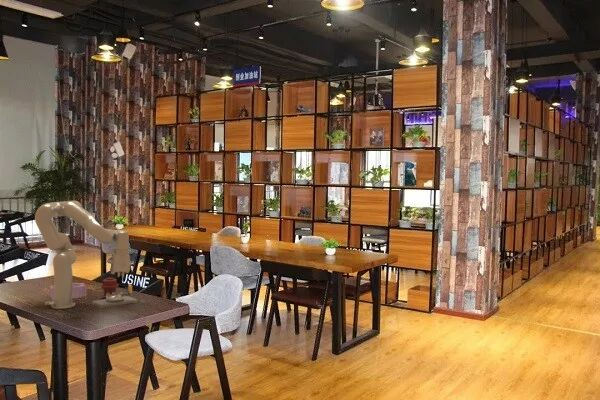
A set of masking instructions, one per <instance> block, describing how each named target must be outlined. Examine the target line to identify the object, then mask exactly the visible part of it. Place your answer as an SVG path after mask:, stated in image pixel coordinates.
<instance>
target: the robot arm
mask: <svg viewBox="0 0 600 400" xmlns="http://www.w3.org/2000/svg"><path fill="white" fill-rule="evenodd" d="M56 217H68V218H69V219H71V220H72V221H74V222H75V223H77V224H78V225H79V226H81V227H82V228H83V229H84V230H85V231H86V232H87V233H88V234H89V235H90V236H91V237H93V238H94V239H95V240H97V241H98V242H99V243H102V244H105V245H107V244H110V243H113V242H114V249H113V250H111V253H113V254H112V256H111V262H110V274H111V275H115V277H116V278H115V279H116V282H117V284H118V285H121V284H123V278H124V277H125V275H126V274H128V273H130V271H131V256H130V253H129V243H130V242H129V241H130V232H129V231H128V230H125V229H124V230H123V229H121V230H120V229H119V230H118V229H111V228H108V229H107V228H104V227H103V226H102V225H100V223H98V222H97V220H96V218H95V216H94V215H93V214H92V213H90V212H89V211H88V210H87V209H85V208H83V205H82V204H81V203H80V202H79V201H77V200H68V201H67V200H66V201H54V202H52V201H51V202H46V203H43V204H42V205H40V206H39V207H38V208H37V210H36V212H35V215H34V220H35V224H36V226H37V228H38V230H39V232H40V234H41V236H42V239H43V241H44V242H45V245H46V247H47V248H48V249H49V250H50V251H51V252H52V251H53V252H54V251H55V252H56V254H55V256H54V257H53V259H52V265H53V266H52V267H53V273H54V274H53V275H54V277H53V279H54V282H53V283H54V284H53V286H54V299H51V300H49V301H45V302H44V305H45V306H47V305H48V306H51V309H55V310H58V309H59V310H63V309H70V308H73V307H76V303H75V302H74V301H73V299H74V298H73V283H74V282H73V280H74V279H73V268H72V266H73V264H74V263H75V262H76V260H77V253H76V251H75V249H74V247H73V245H72V243H71V241H70V239H69V237H68V236H67V235H66V234H65V233H63V232H60V231H58V228H57V225H56V224H55V223H54V222H53V218H56Z"/></svg>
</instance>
